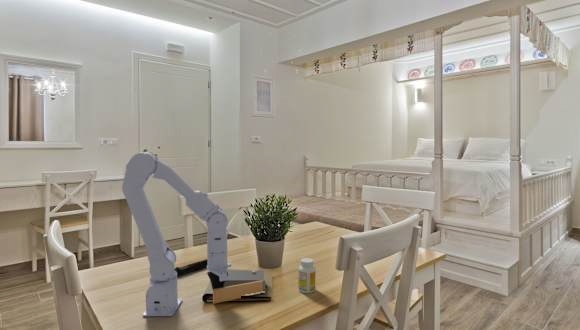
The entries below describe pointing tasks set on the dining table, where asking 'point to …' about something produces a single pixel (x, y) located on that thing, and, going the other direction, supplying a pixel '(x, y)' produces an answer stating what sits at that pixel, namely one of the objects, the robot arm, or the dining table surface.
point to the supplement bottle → (306, 276)
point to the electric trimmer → (191, 267)
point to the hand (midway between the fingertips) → (217, 296)
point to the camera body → (243, 277)
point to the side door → (237, 291)
